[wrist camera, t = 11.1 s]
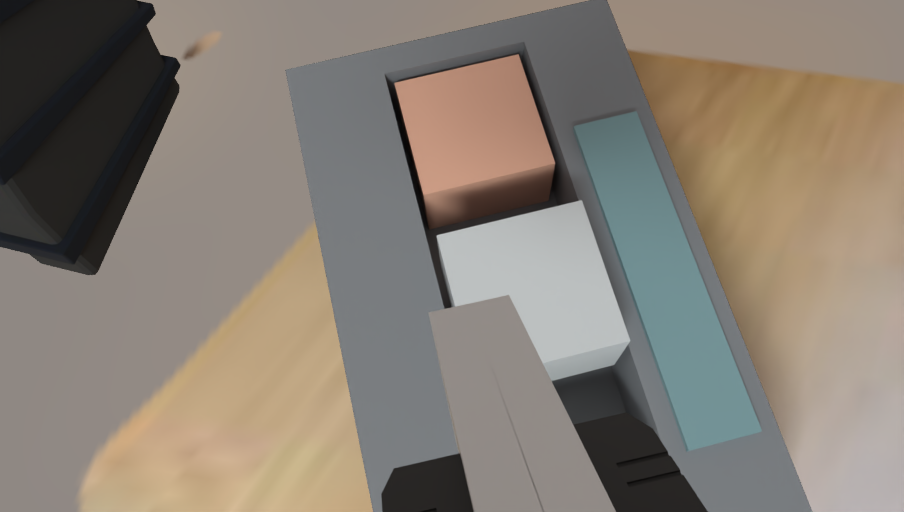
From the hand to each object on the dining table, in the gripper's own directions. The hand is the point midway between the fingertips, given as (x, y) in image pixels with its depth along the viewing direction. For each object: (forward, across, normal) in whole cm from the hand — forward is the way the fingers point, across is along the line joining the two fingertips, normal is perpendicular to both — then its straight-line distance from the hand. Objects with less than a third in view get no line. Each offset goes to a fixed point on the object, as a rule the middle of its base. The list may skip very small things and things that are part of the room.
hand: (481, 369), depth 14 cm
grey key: (+12, +3, -5) cm, 14 cm away
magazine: (+27, -14, +1) cm, 30 cm away
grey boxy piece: (+17, +3, -10) cm, 20 cm away
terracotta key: (+19, +3, -1) cm, 19 cm away
